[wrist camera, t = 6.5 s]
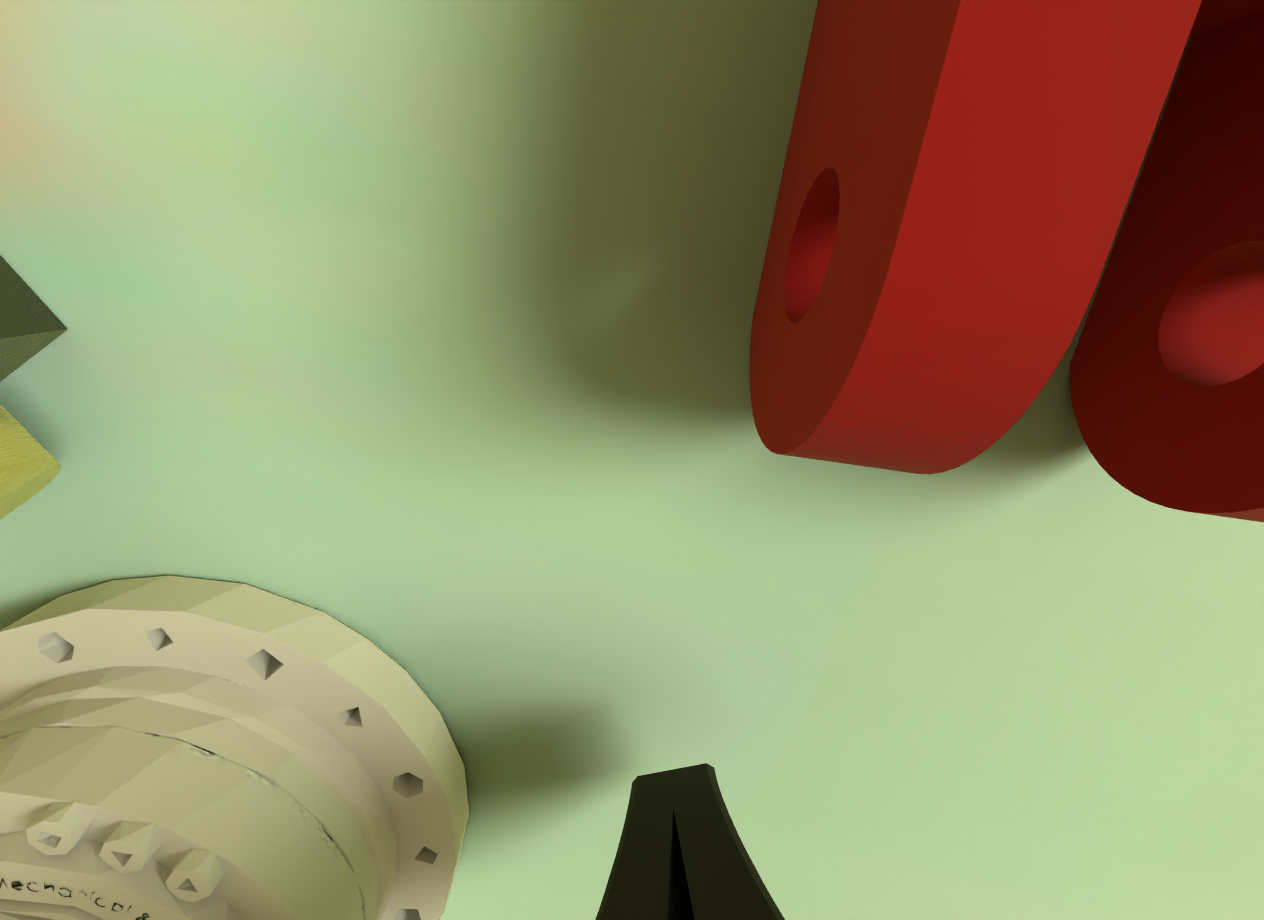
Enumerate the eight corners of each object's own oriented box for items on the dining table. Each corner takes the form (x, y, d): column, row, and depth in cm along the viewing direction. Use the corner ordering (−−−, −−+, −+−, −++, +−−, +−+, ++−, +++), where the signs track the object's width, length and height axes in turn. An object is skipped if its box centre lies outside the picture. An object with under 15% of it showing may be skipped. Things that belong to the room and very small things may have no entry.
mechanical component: (38, 474, 11) (-66, 855, 14) (-323, 615, 7) (-370, 1125, 9) (553, 697, 13) (369, 998, 15) (519, 921, 8) (274, 1280, 11)
